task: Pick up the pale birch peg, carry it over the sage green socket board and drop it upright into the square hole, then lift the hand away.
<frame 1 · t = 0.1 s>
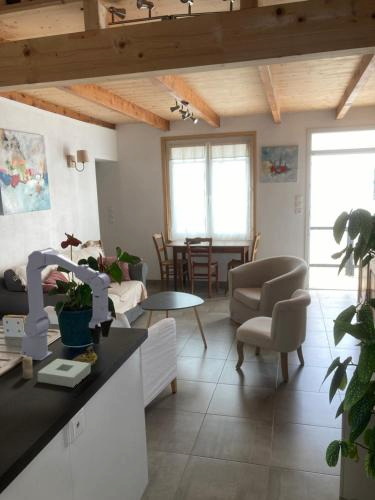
hand: (100, 340, 153), 10 cm above the worktop, tool pointing down, fingers open, 7 cm apart
peg: (27, 377, 143), on the worktop
socket board: (65, 376, 144), on the worktop
yellow lumpy piece: (84, 362, 157), on the worktop
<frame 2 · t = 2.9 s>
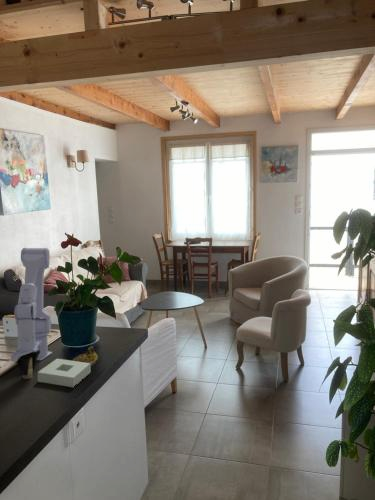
hand: (27, 372, 143), 2 cm above the worktop, tool pointing down, fingers closed on peg, 3 cm apart
peg: (27, 376, 143), on the worktop, touching gripper
everything else where it was.
when the fingers open (4 cm above the worktop, at t = 6.5 s): peg drops 2 cm, resting in socket board.
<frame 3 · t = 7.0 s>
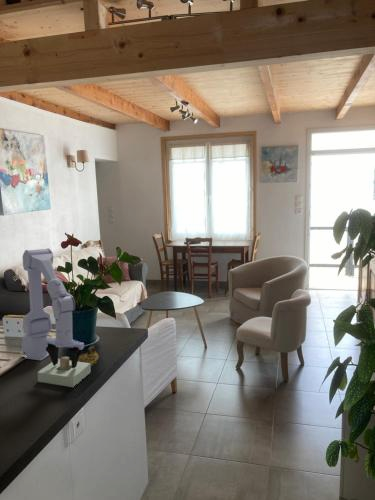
hand: (64, 365, 143), 4 cm above the worktop, tool pointing down, fingers open, 7 cm apart
peg: (65, 376, 144), resting in socket board
everything else where it was.
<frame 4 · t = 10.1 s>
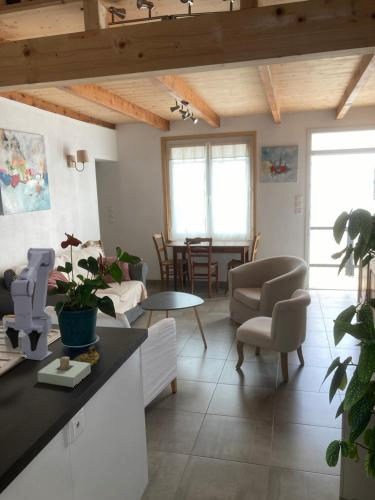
hand: (24, 349, 144), 9 cm above the worktop, tool pointing down, fingers open, 7 cm apart
nothing on the worktop moved.
at the end: peg 0.1 cm off-centre on the socket board, point 0.0 cm above the socket board's base; peg tilted 0°; the gripper is holding nothing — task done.
